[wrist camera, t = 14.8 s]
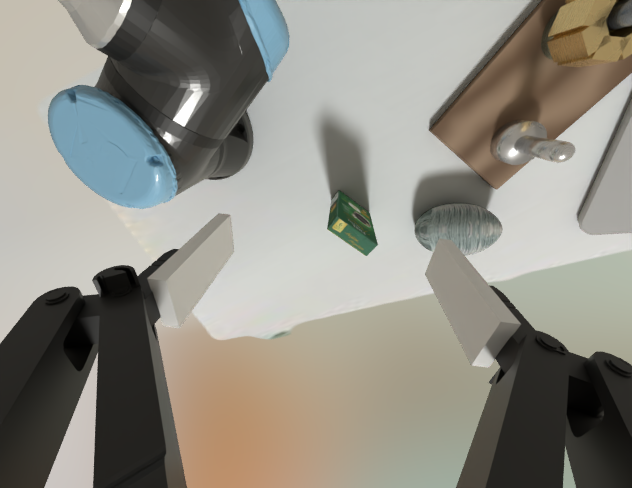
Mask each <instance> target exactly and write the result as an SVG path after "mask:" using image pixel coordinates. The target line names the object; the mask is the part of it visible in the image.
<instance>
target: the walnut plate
mask: <svg viewBox="0 0 632 488" xmlns="http://www.w3.org/2000/svg"><path fill="white" fill-rule="evenodd" d="M565 1H566V0H542V1H541V2H540V3H539V4H538V5H537V7H536V8H535V9H534V10H533V11H532V12H531V14H530V15H529V16H528V17H527V18H526V19H525V20H524V22H523V23H522V24H521V25H520V26H519V27H518V28H517V30H516V31H515V32H514V33H513V34H512V35H511V36H510V38H509V39H508V40H507V41H506V42H505V43H504V45H503V46H502V47H501V48H500V49H499V50H498V51H497V53H496V54H495V55H494V56H493V57H492V58H491V59H490V61H489V62H488V63H487V64H486V65H485V66H484V68H483V69H482V70H481V71H480V72H479V73H478V74H477V76H476V77H475V78H474V79H473V80H472V81H471V82H470V84H469V85H468V86H467V87H466V88H465V89H464V91H463V92H462V93H461V94H460V95H459V96H458V97H457V99H456V100H455V101H454V102H453V103H452V104H451V105H450V107H449V108H448V109H447V110H446V111H445V112H444V113H443V115H442V116H441V117H440V118H439V119H438V120H437V122H436V123H435V124H434V125H433V126H432V127H431V128H430V130H429V131H430V132H431V133H432V134H434V135H435V136H436V137H437V138H438V139H439V140H440V141H441V142H443V143H444V144H445V145H446V146H447V147H448V148H449V149H450V150H451V151H453V152H454V153H455V154H456V155H457V156H458V157H459V158H460V159H461V160H463V161H464V162H465V163H466V164H467V165H468V166H469V167H470V168H472V169H473V170H474V171H475V172H476V173H477V174H478V175H479V176H480V177H482V178H483V179H484V180H485V181H486V182H487V183H488V184H489V185H490V186H492V187H493V188H495V189H498V188H499V187H500V186H502V185H503V184H504V183H505V182H506V181H507V180H508V179H510V178H511V177H512V176H513V175H514V174H515V173H517V172H518V171H519V170H520V169H521V168H522V167H523V166H525V165H526V164H527V163H528V162H529V161H528V162H526V163H524V164H520V165H511V164H508V163H505V162H502V161H499V160H497V159H495V158H494V157H493V156H492V154H491V152H490V143H491V140H492V138H493V136H494V134H495V133H496V132H497V131H498V129H500V128H501V127H502V126H503V125H505V124H506V123H509V122H511V121H515V120H524V121H535V122H539V123H541V124H542V125H543V126H544V127H545V129H546V131H547V139H553V140H555V139H556V138H557V137H558V136H559V135H560V134H562V133H563V132H564V131H565V130H566V129H567V128H568V127H570V126H571V125H572V124H573V123H574V122H575V121H576V120H578V119H579V118H580V117H581V116H582V115H583V114H585V113H586V112H587V111H588V110H589V109H590V108H591V107H593V106H594V105H595V104H596V103H597V102H598V101H600V100H601V99H602V98H603V97H604V96H605V95H606V94H608V93H609V92H610V91H611V90H612V89H613V88H615V87H616V86H617V85H618V84H619V83H620V82H621V81H623V80H624V79H625V78H626V77H627V76H628V75H630V74H631V73H632V54H631V55H629V56H628V57H626V58H625V59H623V60H618V61H617V62H610V63H603V64H597V65H590V66H584V67H569V66H559V65H557V64H558V62H555V63H554V62H553V60H551V59H548V58H547V57H546V56H545V55H544V54H543V52H542V48H541V39H542V35H543V32H544V29H545V27H546V25H547V24H548V22H549V20H550V19H551V18H552V17H553V15H554V14H555V13H556V12H557V11H558V10H559V9H560V7H562V6H564V5H566V2H565Z"/></svg>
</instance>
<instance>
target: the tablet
mask: <svg viewBox="0 0 632 488" xmlns="http://www.w3.org/2000/svg"><path fill="white" fill-rule="evenodd" d="M578 223H579V227H580V229H581V230H582V231H584V232H586V233H587V234H591V235H601V234H619V233H632V98H631V101H630V103H629V105H628V107H627V110H626V112H625V114H624V116H623V118H622V121H621V123H620V125H619V127H618V130H617V132H616V134H615V136H614V138H613V141H612V143H611V145H610V147H609V150H608V152H607V154H606V156H605V158H604V161H603V163H602V165H601V167H600V170H599V172H598V174H597V176H596V178H595V181H594V183H593V185H592V187H591V190H590V192H589V194H588V196H587V198H586V201H585V203H584V205H583V207H582V209H581V212H580V214H579V216H578Z"/></svg>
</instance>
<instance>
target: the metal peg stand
mask: <svg viewBox="0 0 632 488" xmlns="http://www.w3.org/2000/svg"><path fill="white" fill-rule="evenodd" d="M558 12H559V10H558V11H557V12H556V13H555V14H554V15H553V17H552V18H551V19H550V20H549V22H548V24H547V25H546V27H545V29H544V32H543V35H542V39H541V48H542V52H543V54H544V55H545V56H546V57H547V58H548V59H551V60H553V59H552V56H551V53H550V50H549V47H548V44H547V42H548V41H549V40H551V39H552V38H553V37H548V34H549V32H550V30H551V28H552V25H553V23H554V21H555V19H556V16H557V14H558ZM606 23H607V27H608V32H609V31H613V30H616V29H620V28H624V27H628V26H631V25H632V0H624V1H621V2H618V3H615V4H614V6H613V8H612V10H611V11H610V13H609V15H608V17H607V19H606Z"/></svg>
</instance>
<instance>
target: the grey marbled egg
mask: <svg viewBox="0 0 632 488" xmlns="http://www.w3.org/2000/svg"><path fill="white" fill-rule="evenodd" d="M501 233H502V225H501V223H500V221H499V220H498V218H497V217H496V216H495V215H494V214H492V213H491V212H490V211H488V210H486V209H484V208H482V207H479V206H476V205H471V204H466V203H453V204H446V205H441V206H437V207H434V208H432V209H430V210H428V211H427V212H425V213H424V214H423V215H422V216H421V217H420V218H419V219H418V221H417V223H416V225H415V235H416V238H417V240H418V241H419V242H420V243H421V244H422V245H423V246H424V247H425V248H426V249H428V250H430V251H432V252H434V250H435V247H436V245H437V242H438V240H439V239H447V240H452V241H453V243H454V244H455V245H456V246H457V247H458V249H459V250H460V251H461V252H462V253H463V255H470V254H475V253H478V252H481V251H483V250H485V249H486V248H488V247H490V246H491V245H492V244H494V243H495V242H496V241H497V239H498V238H499V237H500V235H501Z"/></svg>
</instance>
